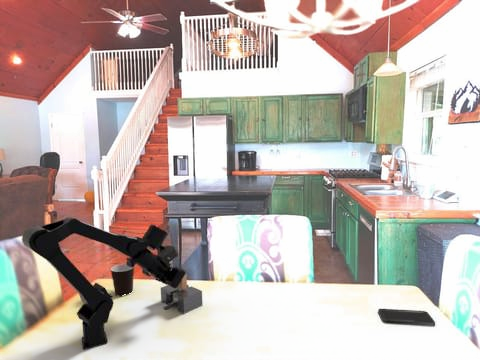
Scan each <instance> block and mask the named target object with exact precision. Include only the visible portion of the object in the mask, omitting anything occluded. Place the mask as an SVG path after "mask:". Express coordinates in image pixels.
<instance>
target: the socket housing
mask: <svg viewBox="0 0 480 360" xmlns="http://www.w3.org/2000/svg"><path fill="white" fill-rule="evenodd" d="M173 297H175V298H177V299H178V305H177V311H178V312H180V313H182V314H183V313H184V314H185V315H186V314H187V313H189V312H191V311H194V310H195V309H198V308H200V307H202V306H203V304H204V303H203V290H201V289H198V288H196V287H194V286H189V284H187V288H185V289H183V290H181V291H179V288H178V287H177V288H173V287H170V286H169V285H165V286H161V287H160V301H161V303H162V302H163V304H164V303H165V305H166V304H167V305H169V304H172V303H173ZM171 302H172V303H171ZM168 303H169V304H168ZM186 312H187V313H186Z"/></svg>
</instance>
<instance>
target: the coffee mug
mask: <svg viewBox="0 0 480 360" xmlns="http://www.w3.org/2000/svg"><path fill="white" fill-rule="evenodd" d="M110 272H111V278H112V279H111V280H112V282H113V284H112V285H113V291H114V293H115V294H117V295H124V294H129V293H131V292H132V291H133V290H134V276H135V275H134V274H135V266H134V267H133V268H132V267H129V266H127V265H126V263H122V264H117V265H114V266H112V267H111V268H110ZM133 292H134V291H133ZM133 292H132V293H133ZM132 293H131V294H132ZM115 294H114V295H115ZM117 295H116V296H117ZM129 295H130V294H129Z"/></svg>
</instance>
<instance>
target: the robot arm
mask: <svg viewBox="0 0 480 360" xmlns="http://www.w3.org/2000/svg"><path fill="white" fill-rule="evenodd" d="M74 234H75V235H78V236H82V237H84V238H87V239H90V240H93V241H96V242H98V243H101V244H104V245H106V246H107V247H109V248H110V249H112V250H114V251H116V252H117V253H120V254H122V255H124V256H126V263H125V264H126V265H127V266H129V267H132V268H133V267H134V268H135V265H137V266H138V267H139V268H141V271H142V274H143V275H144V276H146V277H148V278H150V277H152V278H155V279H154V280H155V281H158V282H159V283H162V284H163V285H165V286H167V285H169V286H170V287H173V288H177V287H178V285H179V284H180V282H181V280H182V279H183V277H184V275H185V274H186V275H187V273H186V271H185V269H183V268H181V267H180V266H171V265H172V264H171V262H172V261H173V260H174V259H176V258H177V257H179V253H178V251H177V249H176V247H175V246H173V245H165V246H164V245H163V243H164V242H165V240H166V239H167V237H168V236H169V233H168V232H167V231H165V230H163V229H162V228H160V227H158V226H156V225H155V224H150V225H149V226H148V229H147V230H146V232H145V233H144V235H143V236H142V237H140V236H130V235H126V234H121V233H115V232H110V231H107V230H105V229H102V228H100V227H96V226H95V225H92V224H89V223H87V222H84V221H81V220H80V219H78V218H75V217H73V216H67V217H65V218H63V219H60V220H57V221H54V222H50V223H46V224H43V225H41V226H38V225H37V226H31V227H28V228H27V229H26V230H25V231H24V232H23V234H22V237H21V242H22V244H23V245H24V246H25V247H27V248H28V249H29V250H31V251H32V252H34V253H35V254H36V255H38V256H40V257H41V258H43V259H44V260H46V261H47V262H48V263H49V264H50V265H51V266H52V267H53V268H54V269H55V271H56V272H57V273H59V275H61V277H62V278H63V279H64V280H65V281H66V282H67V283H68V284H69V285H70V286H71V287H72V288H73V289H74V290H75V291H76V292H77V293H78V295H79V298H80V300H81V302H82V303H83V304H81V306H80V308H79V310H77V312H76V315H77V317H78V319H79V320H81V321H82V322H81V323H82V336H81V344H82V345H81V346H82V349H83V350H86V349H85V348H87V349H90V348H93V346H94V347H97V345H98V346H101V345H104V343H105V344H107V343H108V342H109V340H108V337H107V333H106V331H105V329H106V328H105V324H107V323H108V322H109V317H110V313H111V311H112V310H113V307H114V300H113V298H114V296H113V295H112V294H111V293H109V292H108V291H107V289H106V287H104V286H102V285H101V284H99V283H97V282H95V283H94V284H92V283H91V281H89V280H88V279H87V277H86V276H85V275H84V274H83V273H81V271H80V270H79V269H78V268H77V266H76V265H75V264H74V263H73V262H72V261H71V260H70V259H69V258H68V257H67V256H66V255H65V254H64V252H63V251H62V248H61V246H60V242H62V241H64V240H65V239H67V238H68V237H70V236H72V235H74ZM155 250H156V252H157V254H155V253H153V251H155ZM106 342H107V343H106ZM100 344H101V345H100ZM89 347H90V348H89Z"/></svg>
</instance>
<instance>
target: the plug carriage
mask: <svg viewBox="0 0 480 360" xmlns="http://www.w3.org/2000/svg"><path fill="white" fill-rule="evenodd" d="M187 285H188V277H187V273H186V274H185V275H184V277H183V279H182V280H181V282H180V284H179V285H178V288H179V291H181V290H183V289H185V288H187ZM175 306H178V299H177V298H175V297H173V302H172V303H169V304H167V305H165V306H164V307H163V310H164V311H166V310H169V309H172V308H173V307H175Z"/></svg>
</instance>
